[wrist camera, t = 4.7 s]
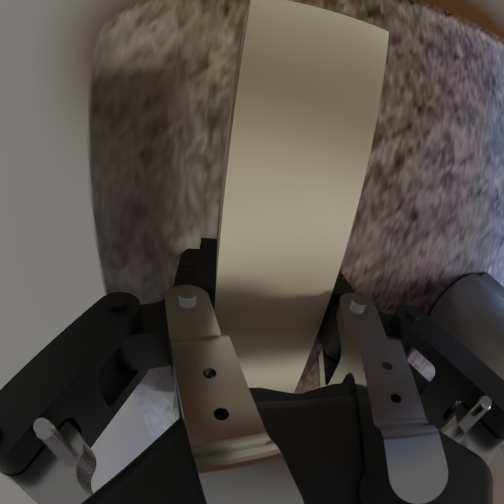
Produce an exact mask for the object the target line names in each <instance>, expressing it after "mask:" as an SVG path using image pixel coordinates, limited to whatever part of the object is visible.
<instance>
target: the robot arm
mask: <svg viewBox="0 0 504 504" xmlns="http://www.w3.org/2000/svg"><path fill="white" fill-rule="evenodd" d="M216 258H217V239H211V238H201V245H200V249H187V250H186V251H184V252H183V253H182V254H181V257H180V261H179V265H178V269H177V273H176V277H175V281H174V286H173V288H171V289H170V290H169V291H168V292H167V293H166V295H165V299H164V300H162V301H160V302H156V303H152V304H144V305H140V302H139V300H138V298H137V297H135V296H134V295H132V294H129V293H125V292H115V293H111V294H108V295H106V296H104V297H102V298H101V299H100V300H99V301H97V302H96V303H95V304H94V305H93V306H92V307H90V308H89V309H88V310H87V311H86V312H84V313H83V314H82V315H81V316H80V317H79V318H77V319H76V320H75V321H74V322H73V323H72V324H71V325H69V326H68V327H67V328H66V329H65V330H64V331H63V332H61V333H60V334H59V335H58V336H57V337H56V338H55V339H54V340H52V341H51V342H50V343H49V344H48V345H47V346H46V347H45V348H44V349H43V350H42V351H41V352H39V353H38V354H37V355H36V356H35V357H34V358H33V359H32V360H31V361H30V362H29V363H28V364H27V365H26V366H25V367H24V368H22V369H21V370H20V371H19V372H18V373H17V374H16V375H15V376H14V377H13V378H12V379H11V380H10V381H9V382H8V383H7V384H6V385H5V386H4V387H3V388H2V389H1V390H0V473H1V474H2V475H4V476H5V477H7V478H8V479H10V480H11V481H12V482H14V483H15V484H17V485H18V486H20V487H21V488H22V489H23V490H24V491H25V492H26V493H27V494H28V495H29V496H30V497H31V498H32V499H34V500H35V501H36V502H37V503H38V504H493V478H492V474H491V471H490V469H489V467H488V466H489V464H490V462H491V461H492V459H493V457H494V456H495V454H496V452H497V451H499V453H500V455H501V457H502V459H503V461H504V287H503V286H502V285H501V284H500V283H499V282H498V281H496V280H495V279H494V278H493V277H492V276H491V275H490V274H488V273H487V272H486V273H485V274H483V275H477V274H471V275H468V276H465V277H463V278H461V279H460V280H458V281H457V282H456V283H454V284H453V285H452V286H451V287H450V288H449V289H448V290H447V291H446V292H445V293H444V294H443V295H442V296H441V297H440V299H439V300H438V301H437V303H436V304H435V306H434V307H433V309H432V310H431V312H430V314H429V316H427V315H426V314H424V313H423V312H422V311H420V310H419V309H417V308H415V307H413V306H409V305H400V306H398V307H397V309H396V311H395V313H394V315H390V314H385V313H381V312H378V311H377V309H376V306H375V304H374V303H373V302H372V301H371V300H370V299H368V298H367V297H365V296H363V295H360V294H356V293H354V291H353V290H352V288H351V287H350V285H349V284H348V282H347V280H346V279H345V277H344V276H343V274H342V273H341V271H340V270H339V273H338V276H337V279H336V282H335V285H334V288H333V291H332V294H331V297H330V300H329V303H328V306H327V309H326V312H325V314H324V317H323V320H322V323H321V326H320V328H319V331H318V334H317V336H316V339H315V342H314V344H316V343H321V344H322V348H321V351H320V353H319V367H320V384H321V388H319V389H315V390H312V391H309V392H306V393H302V394H294V393H288V392H282V391H276V390H271V389H265V388H249V387H248V385H247V382H246V380H245V377H244V374H243V372H242V369H241V366H240V364H239V361H238V358H237V356H236V353H235V350H234V348H233V345H232V342H231V340H230V337H229V336H228V335H221V332H220V329H219V326H218V323H217V319H216V316H215V313H214V305H215V292H216ZM414 348H415V349H416V350H417V351H418V352H419V353H421V354H422V355H423V356H424V357H425V358H426V359H427V360H428V361H430V362H431V363H432V364H433V365H434V367H435V376H434V378H433V379H432V380H431V382H429V381H428V380H427V379H426V378H424V377H423V376H422V375H421V374H420V373H419V372H418V371H417V370H416V369H415V368H414V367H413V366H412V365H411V364H409V363H408V358H409V357H410V355H411V353H412V352H413V350H414ZM169 365H170V369H171V375H172V382H173V388H174V394H175V400H176V406H177V412H178V418H179V419H178V420H177V421H176V422H175V423H174V424H173V425H172V426H171V427H169V428H168V429H167V430H166V431H165V432H164V433H163V434H162V435H161V436H160V437H159V438H158V439H157V440H155V441H154V442H153V443H152V444H151V445H150V446H149V447H148V448H147V449H146V450H144V451H143V452H142V453H141V454H140V455H139V456H138V457H137V458H135V459H134V460H133V461H132V462H131V463H130V464H129V465H127V466H126V467H125V468H124V469H123V470H122V471H120V472H119V473H118V474H117V475H116V476H115V477H114V478H112V479H111V480H110V481H108V482H107V483H106V484H105V485H104V486H102V487H101V488H100V489H99V490H97V491H96V492H95V493H94V494H93V492H92V489H91V479H92V476H93V474H94V472H95V469H96V458H95V455H94V453H93V451H92V450H91V447H92V445H93V444H94V443H95V441H96V440H97V439H98V437H99V436H100V435H101V433H102V432H103V431H104V429H105V428H106V427H107V425H108V424H109V423H110V421H111V420H112V419H113V417H114V416H115V414H116V413H117V412H118V411H119V409H120V408H121V407H122V405H123V404H124V402H125V401H126V400H127V398H128V397H129V396H130V395H131V393H132V392H133V391H134V389H135V388H136V387H137V385H138V384H139V383H140V381H141V380H142V379H143V377H144V376H145V375H146V373H147V372H148V369H151V368H157V367H163V366H169ZM460 401H461V403H460Z"/></svg>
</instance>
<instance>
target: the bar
mask: <svg viewBox="0 0 504 504" xmlns="http://www.w3.org/2000/svg"><path fill="white" fill-rule="evenodd" d="M388 36H389V32H388V31H386V30H384V29H381V28H379V27H376V26H374V25H371V24H368V23H366V22H363V21H360V20H357V19H354V18H351V17H348V16H345V15H342V14H339V13H336V12H332V11H329V10H325V9H322V8H318V7H314V6H310V5H306V4H301V3H297V2H292V1H287V0H250V4H249V7H248V11H247V15H246V18H245V22H244V26H243V30H242V34H241V39H240V45H239V51H238V58H237V65H236V72H235V79H234V86H233V93H232V101H231V108H230V116H229V124H228V132H227V141H226V149H225V158H224V167H223V176H222V186H221V196H220V206H219V217H218V228H217V258H216V292H215V305H214V313H215V316H216V319H217V323H218V326H219V329H220V332H221V335H228V336H229V337H230V340H231V342H232V345H233V348H234V350H235V353H236V356H237V358H238V361H239V364H240V366H241V369H242V372H243V374H244V377H245V380H246V382H247V385H248V387H249V388H265V389H271V390H276V391H282V392H288V393H294V391H295V389H296V387H297V384H298V382H299V380H300V377H301V375H302V372H303V370H304V367H305V365H306V362H307V360H308V357H309V355H310V352H311V350H312V347H313V344H314V342H315V339H316V336H317V334H318V331H319V328H320V326H321V323H322V320H323V317H324V314H325V312H326V309H327V306H328V303H329V300H330V297H331V294H332V291H333V288H334V285H335V282H336V279H337V276H338V273H339V269H340V266H341V263H342V260H343V257H344V253H345V250H346V246H347V243H348V240H349V236H350V233H351V229H352V225H353V222H354V218H355V214H356V211H357V207H358V203H359V199H360V195H361V191H362V187H363V183H364V179H365V174H366V170H367V165H368V161H369V156H370V152H371V147H372V142H373V137H374V132H375V127H376V121H377V116H378V110H379V104H380V98H381V92H382V85H383V78H384V71H385V63H386V55H387V46H388Z"/></svg>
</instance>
